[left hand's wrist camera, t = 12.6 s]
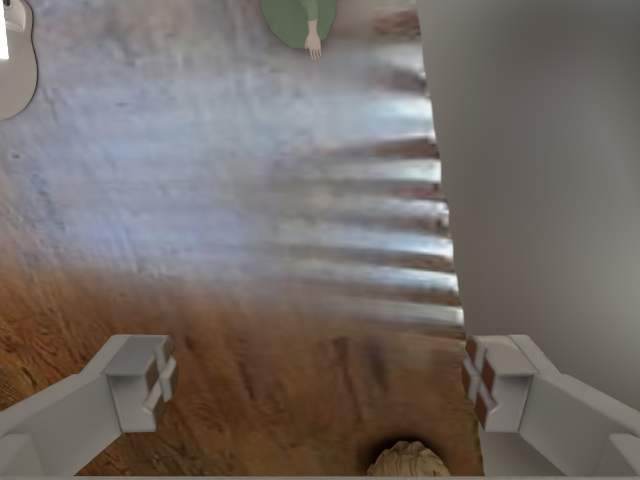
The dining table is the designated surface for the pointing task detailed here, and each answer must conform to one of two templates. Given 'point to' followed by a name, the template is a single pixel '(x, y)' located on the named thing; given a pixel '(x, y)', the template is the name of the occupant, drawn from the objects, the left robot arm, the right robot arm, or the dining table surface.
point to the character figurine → (300, 21)
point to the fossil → (408, 462)
